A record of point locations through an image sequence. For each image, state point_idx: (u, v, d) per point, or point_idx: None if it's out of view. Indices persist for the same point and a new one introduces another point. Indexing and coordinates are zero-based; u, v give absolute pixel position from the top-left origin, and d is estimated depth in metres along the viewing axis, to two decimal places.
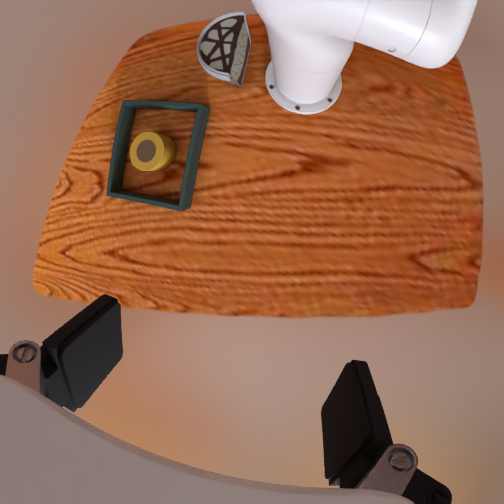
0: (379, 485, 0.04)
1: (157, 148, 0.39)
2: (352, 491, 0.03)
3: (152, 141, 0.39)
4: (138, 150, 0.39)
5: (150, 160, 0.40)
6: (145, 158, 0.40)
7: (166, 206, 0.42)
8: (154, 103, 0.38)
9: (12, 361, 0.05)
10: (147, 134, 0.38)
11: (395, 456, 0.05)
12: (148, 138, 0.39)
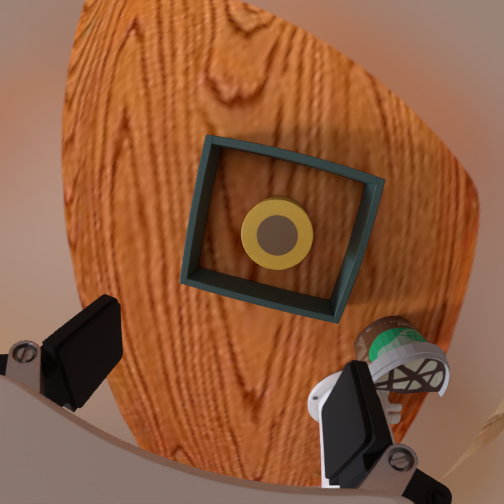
0: (379, 485, 0.04)
1: (278, 258, 0.25)
2: (351, 491, 0.03)
3: (292, 249, 0.25)
4: (280, 219, 0.24)
5: (258, 243, 0.25)
6: (263, 233, 0.25)
7: (184, 259, 0.28)
8: (362, 245, 0.25)
9: (12, 361, 0.05)
10: (307, 239, 0.24)
11: (395, 456, 0.05)
12: (299, 241, 0.25)
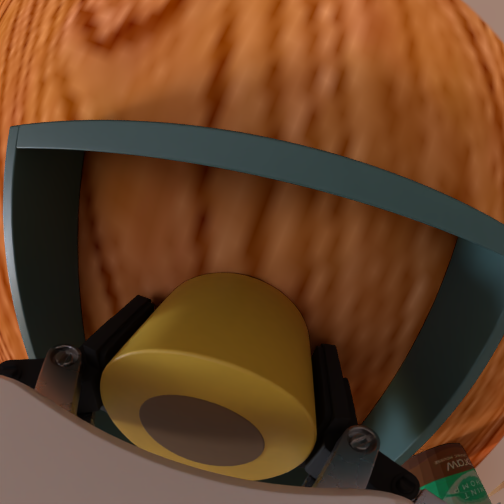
0: (335, 463, 0.05)
1: (212, 468, 0.07)
2: (352, 490, 0.03)
3: (249, 462, 0.06)
4: (201, 409, 0.06)
5: (152, 437, 0.07)
6: (158, 426, 0.06)
7: None
8: (440, 418, 0.07)
9: (51, 366, 0.05)
10: (295, 450, 0.06)
11: (355, 438, 0.06)
12: (270, 453, 0.06)
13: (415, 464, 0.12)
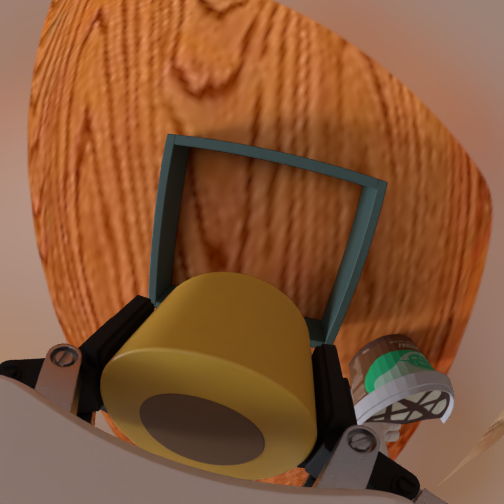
0: (335, 463, 0.05)
1: (213, 467, 0.07)
2: (352, 491, 0.03)
3: (249, 461, 0.06)
4: (201, 407, 0.06)
5: (152, 437, 0.07)
6: (158, 425, 0.06)
7: (151, 280, 0.23)
8: (358, 263, 0.21)
9: (52, 366, 0.05)
10: (295, 449, 0.06)
11: (355, 438, 0.06)
12: (270, 452, 0.06)
13: (376, 344, 0.26)
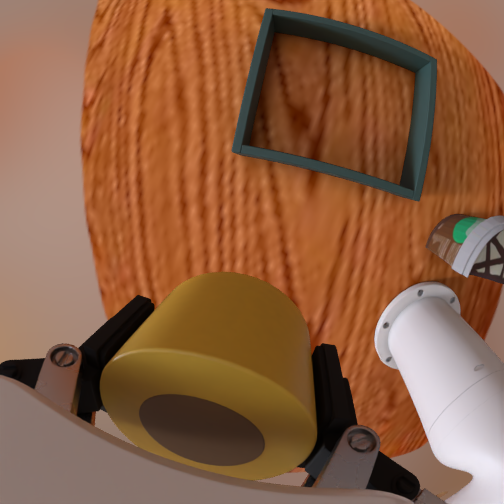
0: (335, 463, 0.05)
1: (212, 468, 0.07)
2: (352, 491, 0.03)
3: (249, 462, 0.06)
4: (201, 408, 0.06)
5: (152, 437, 0.07)
6: (158, 425, 0.06)
7: (240, 120, 0.21)
8: (430, 113, 0.18)
9: (51, 366, 0.05)
10: (296, 450, 0.06)
11: (355, 438, 0.06)
12: (270, 452, 0.06)
13: (448, 218, 0.24)
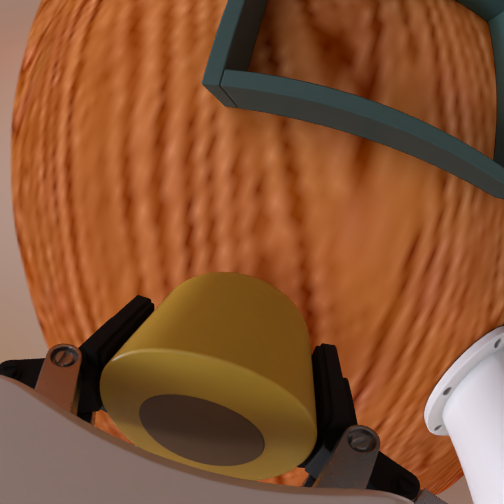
0: (335, 463, 0.05)
1: (212, 468, 0.07)
2: (351, 491, 0.03)
3: (249, 462, 0.06)
4: (201, 408, 0.06)
5: (152, 437, 0.07)
6: (158, 426, 0.06)
7: (223, 27, 0.08)
8: None
9: (51, 366, 0.05)
10: (295, 450, 0.06)
11: (355, 438, 0.06)
12: (270, 452, 0.06)
13: None
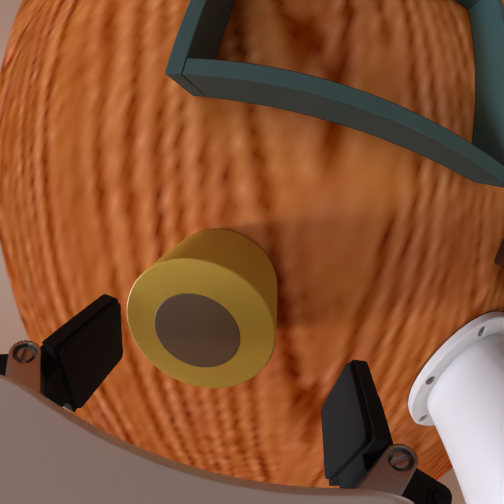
0: (379, 485, 0.04)
1: (204, 371, 0.11)
2: (351, 490, 0.03)
3: (231, 359, 0.11)
4: (197, 303, 0.10)
5: (161, 343, 0.11)
6: (167, 328, 0.11)
7: (188, 18, 0.08)
8: None
9: (12, 361, 0.05)
10: (262, 342, 0.11)
11: (395, 456, 0.05)
12: (244, 346, 0.11)
13: None
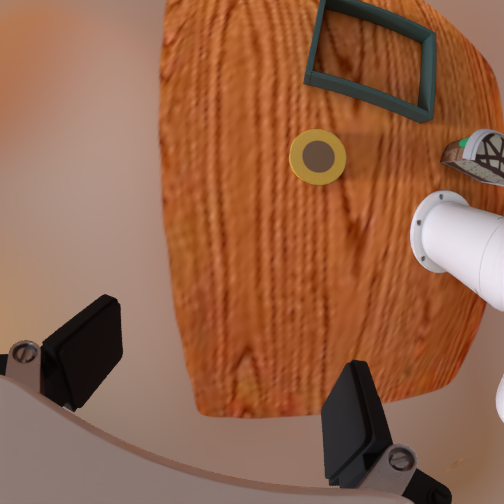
0: (379, 485, 0.04)
1: (320, 175, 0.29)
2: (352, 491, 0.03)
3: (331, 167, 0.29)
4: (320, 144, 0.28)
5: (303, 162, 0.29)
6: (307, 155, 0.29)
7: (310, 55, 0.26)
8: (433, 65, 0.23)
9: (12, 361, 0.05)
10: (342, 160, 0.28)
11: (395, 456, 0.05)
12: (336, 161, 0.29)
13: None
